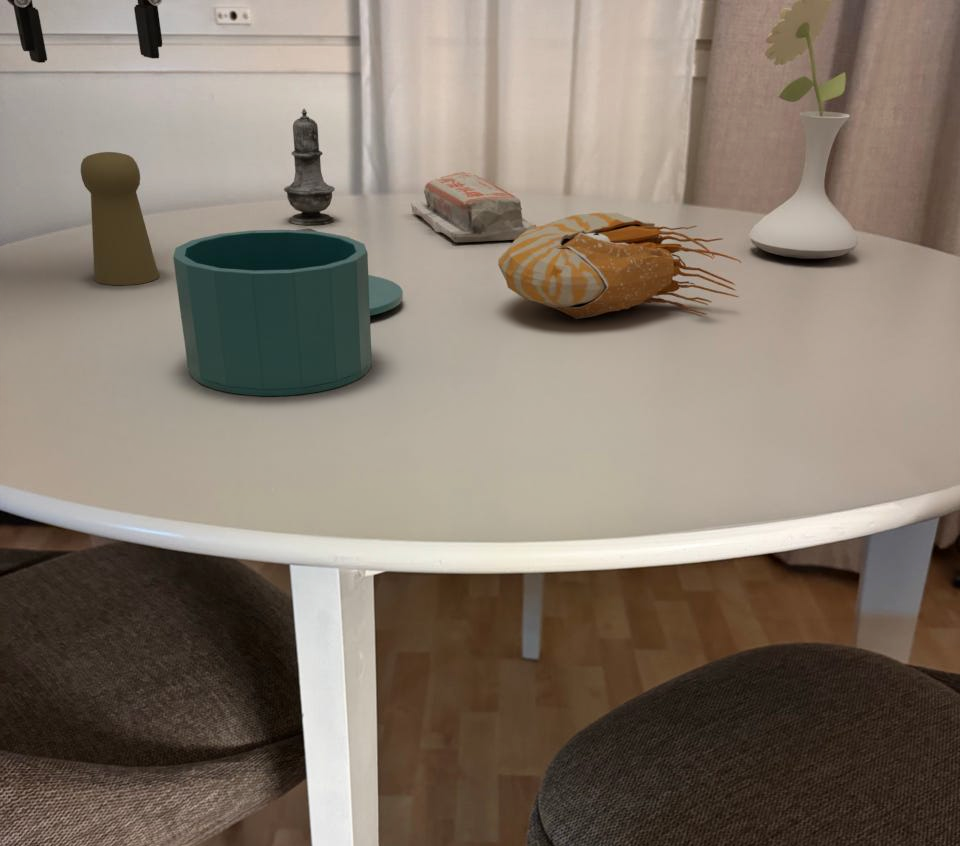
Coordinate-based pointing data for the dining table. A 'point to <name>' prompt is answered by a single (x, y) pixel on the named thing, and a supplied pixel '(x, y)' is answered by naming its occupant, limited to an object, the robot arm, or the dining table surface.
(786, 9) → the flower in vase
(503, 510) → the dining table surface
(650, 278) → the nautilus
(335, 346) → the tin
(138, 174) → the cork
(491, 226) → the packaged product
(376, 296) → the tin lid
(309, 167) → the salt shaker
